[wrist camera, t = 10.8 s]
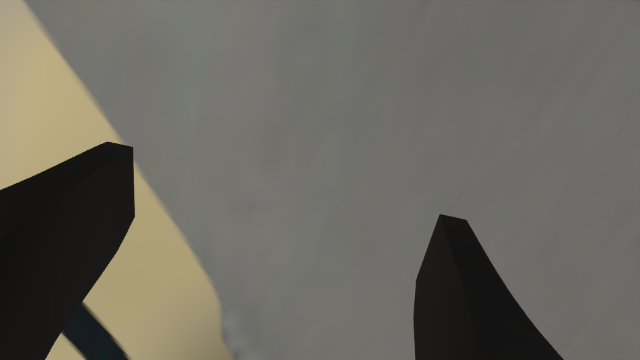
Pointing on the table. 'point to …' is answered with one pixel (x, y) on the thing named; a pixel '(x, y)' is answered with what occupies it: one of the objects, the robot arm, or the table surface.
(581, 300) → the table surface
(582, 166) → the table surface
